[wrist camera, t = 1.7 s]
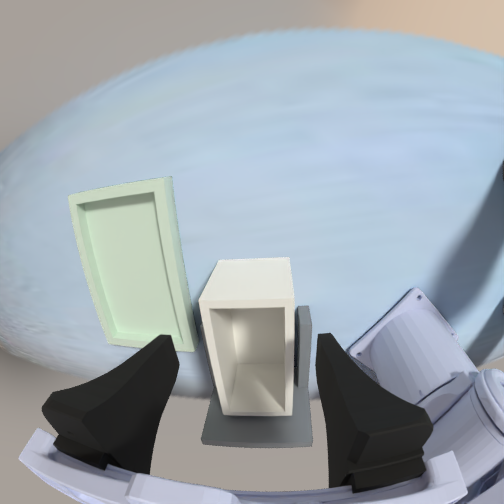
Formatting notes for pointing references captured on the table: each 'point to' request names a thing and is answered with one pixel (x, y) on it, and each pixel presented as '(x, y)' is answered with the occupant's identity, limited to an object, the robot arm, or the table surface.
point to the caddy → (251, 335)
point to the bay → (267, 427)
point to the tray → (135, 262)
